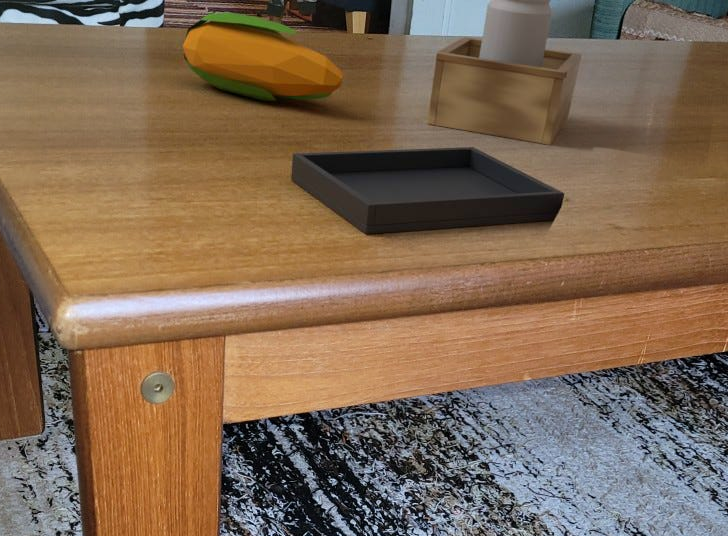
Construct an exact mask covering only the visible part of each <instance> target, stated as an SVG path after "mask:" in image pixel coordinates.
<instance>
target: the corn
mask: <svg viewBox="0 0 728 536" xmlns="http://www.w3.org/2000/svg"><path fill="white" fill-rule="evenodd" d="M280 32H281V33H283V34H288V35H293V34H294V35H295V34H297V33H298V31H297V30H295V29H293V28H291V27H289V26H287V25H285V24H283V23H280V22H276V21H273V20H268V19H265V18H261V17H258V16H253V15H247V14H240V13H233V12H220V13H219V12H218V13H208V14H207V15H205V16H204V17H202V18H201V19H200V20H198V21H197V22H195V23H194V24H192V25H191V26H189V27H188V28H187V31H186V35H185V38H184V39H185V40H184V42H183V45H182V49H183V50H182V51H183V58H184V61H185V62H186V64H187V65H188V67H189V68H190V70H191V71H192V72H193V73H195V74H196V75H197V76H198V77H199V78H200V79H201V80H203V81H205V82H206V83H208V84H210V85H212V86H213V87H215V88H217V89H218V90H220V91H224V92H228V93H232V94H236V95H239V96H243V97H247V98H252V99H255V100H259V101H262V102H276V101H277V99H276V98H275V97H278V98H279V97H280V98H285V99H292V100H299V101H300V100H301V101H302V100H303V101H304V100H319V99H326V98H328V97H330V96H331V95H332V93H333V92H335V91H336V90H338V89H339V88H341V87H342V83H343V78H344V74H343V73H342V71H341V70H340V68H339V67H338V66H337V65H336V64H334V62H332V60H330V59H329V58H328V57H327V56H325V55H323V54H321V53H319V52H317V51H315V50H313V49H311V48H309V47H306V46H304V45H302V44H300V43H298V42H296V41H294V40H291V39H290V38H287V37H285V36H284V35H282V34H281V33H280Z"/></svg>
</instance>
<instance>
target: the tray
mask: <svg viewBox="0 0 728 536" xmlns="http://www.w3.org/2000/svg"><path fill="white" fill-rule="evenodd" d="M290 175H291V176H290V180H291V182H293V183H294V184H296V185H297V186H299V187H300V188H301V189H303V190H304V191H305V192H307V193H308V194H309V195H311V196H313V197H314V198H315V199H317V200H318V201H319V202H321V203H322V204H323V205H325V206H326V207H327V208H329V209H330V210H332V211H333V212H335V214H337V215H338V216H340V217H342V218H343V219H344V220H346V221H347V222H348V223H349V224H351V225H352V226H353V227H355V228H356V229H358V230H359V231H361V232H362V233H363V234H365V235H373V234H374V235H375V234H387V233H402V232H415V231H426V230H427V231H428V230H429V231H430V230H441V229H443V230H444V229H456V228H467V227H468V228H469V227H481V226H494V225H509V224H521V223H522V224H523V223H536V222H548V221H549V222H551V221H555V220H556V218H557V216H558V214H559V212H560V211H561V209H562V206H563V202H564V198H565V192H564V191H562V190H559V189H558V188H555V187H553V186H551V185H549V184H547V183H545V182H543V181H542V180H540V179H538V178H535V177H533V176H531V175H529V174H528V173H525V172H523V171H521V170H520V169H518V168H515V167H513V166H512V165H510V164H508V163H505V162H503V161H502V160H499V159H497V158H496V157H494V156H492V155H490V154H488V153H486V152H484V151H481V150H479V149H478V148H476V147H474V146H465V147H463V146H461V147H437V148H435V147H433V148H407V149H406V148H405V149H381V150H379V149H378V150H377V149H376V150H356V151H355V150H352V151H351V150H350V151H324V152H321V151H320V152H302V153H301V152H300V153H299V152H298V153H297V152H296V153H292V161H291V174H290ZM455 227H456V228H455Z"/></svg>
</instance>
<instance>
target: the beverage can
mask: <svg viewBox="0 0 728 536" xmlns="http://www.w3.org/2000/svg"><path fill="white" fill-rule="evenodd" d="M550 2H551V0H490V1H489V2H488V3H487V7H486V12H485V19H484V25H483V30H482V31H483V32H482V38H481V39H482V43H481V49H480V56H479V58H483V59H490V60H496V61H503V62H509V63H516V64H522V65H529V66H535V67H541V66H542V61H543V56H544V51H545V49H546V47H547V46H546V45H547V40H548V35H549V31H550V30H549V29H550V26H551V25H550V24H551V19H552V15H553V11H552V8H551V5H550Z"/></svg>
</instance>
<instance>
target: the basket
mask: <svg viewBox="0 0 728 536" xmlns="http://www.w3.org/2000/svg"><path fill="white" fill-rule="evenodd" d="M481 43H482V38H478V37H477V38H476V37H471V36H464V37H462V38H459V39H458V40H456V41H454V42H453V43H451V44H449V45H447V46H446V47H444V48H442V49H440V50H438V52H436V55H435V64H434V72H433V79H432V86H431V87H432V88H431V93H430V100H429V109H428V114H427V121H426V123H427V125H432V126H437V127H443V128H448V129H453V130H454V129H455V130H461V131H466V132H472V133H476V134H477V133H478V134H482V135H483V134H484V135H489V136H496V137H501V138H508V139H514V140H518V141H524V142H530V143H535V144H536V143H537V144H542V145H547V146H550V145H551V144H552V142H553V141H554V140H555V138H556V137H557V136H558V134H559V132H561V130H562V129H563V127H564V126H565V124H566V123H567V121H568V119H569V115H570V110H571V105H572V100H573V95H574V92H575V91H574V90H575V87H576V83H577V79H578V78H577V77H578V73H579V68H580V64H581V60H582V55H583V54H582V53H578V52H573V51H572V52H571V51H564V50H558V49H552V48H551V49H550V48H545V51H544V56H543V61H542V66H541V67H535V66H529V65H522V64H516V63H509V62H503V61H496V60H490V59H483V58H479V56H480V49H481Z"/></svg>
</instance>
